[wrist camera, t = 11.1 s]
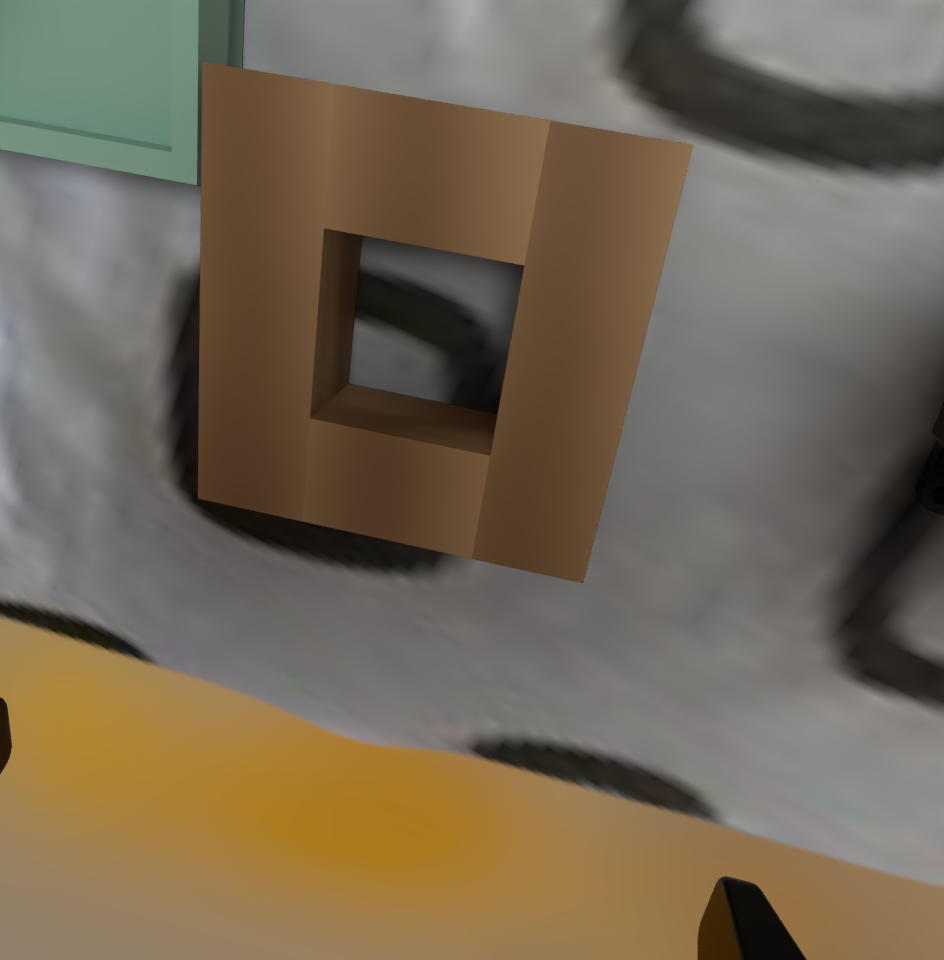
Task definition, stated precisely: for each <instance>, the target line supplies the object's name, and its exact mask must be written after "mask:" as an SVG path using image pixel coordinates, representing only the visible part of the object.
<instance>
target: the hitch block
mask: <svg viewBox="0 0 944 960" xmlns="http://www.w3.org/2000/svg"><path fill="white" fill-rule="evenodd" d="M692 148H693V145H690V144H685V143H679V142H673V141H667V140H661V139H655V138H649V137H643V136H637V135H631V134H625V133H620V132H614V131H608V130H602V129H596V128H590V127H584V126H578V125H572V124H566V123H561V122H555V121H549V120H543V119H537V118H531V117H525V116H519V115H513V114H507V113H501V112H496V111H490V110H484V109H478V108H472V107H466V106H460V105H454V104H448V103H442V102H437V101H431V100H425V99H419V98H413V97H407V96H401V95H395V94H389V93H383V92H377V91H372V90H366V89H360V88H354V87H348V86H342V85H336V84H330V83H324V82H318V81H313V80H307V79H301V78H295V77H289V76H283V75H277V74H271V73H265V72H259V71H253V70H248V69H242V68H236V67H230V66H224V65H218V64H212V63H206V62H202V149H201V245H200V341H199V437H198V499H202V500H207V501H212V502H216V503H221V504H225V505H230V506H234V507H239V508H243V509H248V510H253V511H257V512H262V513H266V514H271V515H275V516H280V517H284V518H289V519H294V520H298V521H303V522H307V523H312V524H316V525H321V526H325V527H330V528H334V529H339V530H344V531H348V532H353V533H357V534H362V535H366V536H371V537H375V538H380V539H385V540H389V541H394V542H398V543H403V544H407V545H412V546H416V547H421V548H425V549H430V550H435V551H439V552H444V553H448V554H453V555H457V556H462V557H466V558H471V559H476V560H480V561H485V562H489V563H494V564H498V565H503V566H507V567H512V568H517V569H521V570H526V571H530V572H535V573H539V574H544V575H548V576H553V577H557V578H562V579H567V580H571V581H576V582H580V583H583V581H584V578H585V574H586V570H587V566H588V562H589V558H590V554H591V550H592V546H593V542H594V538H595V534H596V530H597V526H598V522H599V518H600V514H601V510H602V506H603V502H604V498H605V494H606V490H607V486H608V482H609V478H610V474H611V470H612V466H613V462H614V458H615V454H616V450H617V446H618V442H619V438H620V434H621V430H622V426H623V422H624V418H625V414H626V410H627V406H628V402H629V398H630V395H631V391H632V387H633V383H634V379H635V375H636V371H637V367H638V363H639V359H640V355H641V351H642V347H643V343H644V339H645V335H646V331H647V327H648V323H649V319H650V315H651V311H652V307H653V303H654V299H655V295H656V291H657V287H658V283H659V279H660V275H661V271H662V267H663V263H664V259H665V255H666V251H667V247H668V243H669V239H670V235H671V231H672V227H673V223H674V219H675V216H676V212H677V208H678V204H679V200H680V196H681V192H682V188H683V184H684V180H685V176H686V172H687V168H688V164H689V160H690V156H691V152H692ZM362 235H363V236H368V237H374V238H379V239H385V240H390V241H395V242H401V243H406V244H411V245H417V246H422V247H428V248H433V249H438V250H444V251H449V252H455V253H460V254H465V255H471V256H476V257H481V258H487V259H492V260H498V261H503V262H508V263H514V264H519V265H524V270H523V276H522V281H521V287H520V293H519V298H518V304H517V309H516V315H515V321H514V326H513V332H512V337H511V343H510V348H509V354H508V360H507V365H506V371H505V376H504V382H503V387H502V393H501V399H500V404H499V410H498V414H495V413H490V412H485V411H480V410H475V409H470V408H465V407H460V406H455V405H450V404H446V403H441V402H436V401H431V400H426V399H421V398H416V397H411V396H406V395H401V394H396V393H391V392H386V391H381V390H377V389H372V388H367V387H362V386H357V385H352V384H348V381H349V371H350V360H351V349H352V339H353V328H354V317H355V306H356V296H357V285H358V274H359V263H360V253H361V242H362Z"/></svg>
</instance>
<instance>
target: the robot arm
mask: <svg viewBox="0 0 944 960" xmlns="http://www.w3.org/2000/svg"><path fill="white" fill-rule="evenodd" d="M932 433H933V435H934V437H935V439H936V442H935V445H934V447H933V449H932V451H931V454H930V456H929V458H928V461H927V463H926V465H925V468H924V470H923V472H922V475H921V477H920V479H919V481H918V484H917V488H916V495H917V498H918V499H919V501H920V502H921V503H922V504H923V505H924V506H925V507H926V508H927V509H928V510H929V511H932V512H934V513H938V514H943V515H944V496H942V497H940V498H932V495H933V492H934V491H935V490H936V489H937V488H939V487H941V486H944V403H943V405H942V408H941V410H940V412H939V415H938V417H937V419H936V422H935V424H934V426H933V429H932ZM11 748H12V742H11V733H10V725H9V716H8V708H7V704H6V702H5V701H4V700H3V699H2V698H0V774H1V772H2V771H3V769H4V768H5V766H6V764H7V762H8V760H9V757H10V754H11ZM698 960H807V959H806V958H805V956H804V955H803V953H802V952H801V950H800V949H799V947H798V946H797V944H796V943H795V941H794V940H793V938H792V936H791V935H790V934H789V932H788V930H787V929H786V927H785V926H784V924H783V923H782V921H781V920H780V918H779V917H778V915H777V914H776V912H775V910H774V909H773V908H772V906H771V904H770V903H769V901H768V900H767V898H766V897H765V895H764V894H763V892H762V891H761V889H760V888H759V887H758V886H757V885H755V884H754V883H751V882H748V881H744V880H740V879H736V878H731V877H727V876H725V877H721V878H720V879H719V880H718V881H717V883H716V885H715V888H714V890H713V892H712V895H711V897H710V900H709V903H708V905H707V907H706V909H705V912H704V914H703V917H702V919H701V922H700V926H699V932H698Z"/></svg>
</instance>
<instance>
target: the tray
mask: <svg viewBox="0 0 944 960" xmlns="http://www.w3.org/2000/svg"><path fill="white" fill-rule="evenodd" d="M243 25H244V0H0V149H2V150H8V151H13V152H19V153H24V154H30V155H35V156H41V157H46V158H51V159H57V160H62V161H68V162H73V163H79V164H84V165H90V166H95V167H100V168H106V169H111V170H117V171H122V172H128V173H133V174H139V175H144V176H149V177H155V178H160V179H166V180H171V181H177V182H182V183H188V184H193V185H201V149H202V62H206V63H212V64H218V65H224V66H230V67H236V68H242V59H243Z"/></svg>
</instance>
